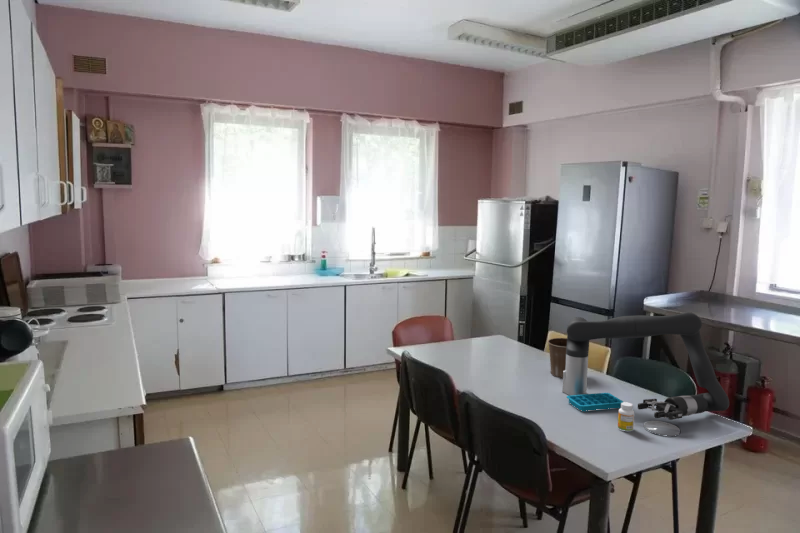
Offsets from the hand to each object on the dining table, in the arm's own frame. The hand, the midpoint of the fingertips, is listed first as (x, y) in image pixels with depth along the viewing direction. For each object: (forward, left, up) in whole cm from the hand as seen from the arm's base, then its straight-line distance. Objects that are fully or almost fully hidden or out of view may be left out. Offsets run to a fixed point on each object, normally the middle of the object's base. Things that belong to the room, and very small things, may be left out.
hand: (646, 410), depth 203 cm
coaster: (+5, +1, -6) cm, 8 cm away
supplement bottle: (-5, -8, -6) cm, 11 cm away
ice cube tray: (-23, +7, -7) cm, 24 cm away
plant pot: (-50, +35, -6) cm, 61 cm away
